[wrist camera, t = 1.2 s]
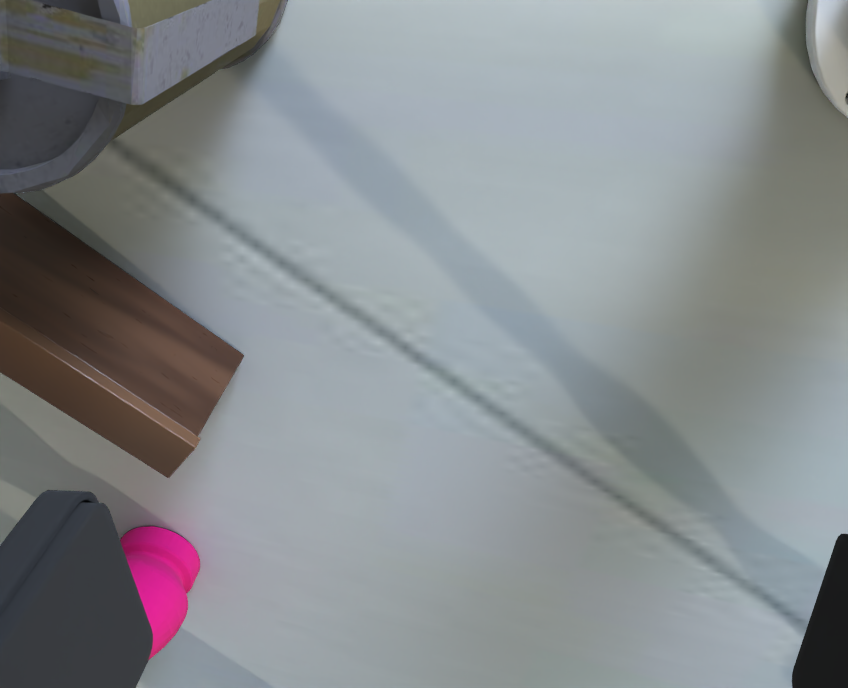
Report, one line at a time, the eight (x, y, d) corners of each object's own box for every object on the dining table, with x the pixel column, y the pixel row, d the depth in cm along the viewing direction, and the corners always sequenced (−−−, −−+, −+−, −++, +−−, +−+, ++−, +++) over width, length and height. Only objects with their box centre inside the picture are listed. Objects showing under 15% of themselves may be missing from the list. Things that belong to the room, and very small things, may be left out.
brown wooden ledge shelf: (-133, 88, 40) (-282, 137, 33) (247, 356, 47) (196, 447, 39) (-167, 177, 43) (-310, 240, 36) (195, 417, 50) (137, 512, 42)
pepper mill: (196, 598, 59) (69, 886, 43) (107, 568, 59) (-59, 849, 42) (216, 540, 56) (84, 830, 39) (121, 507, 55) (-56, 789, 38)
